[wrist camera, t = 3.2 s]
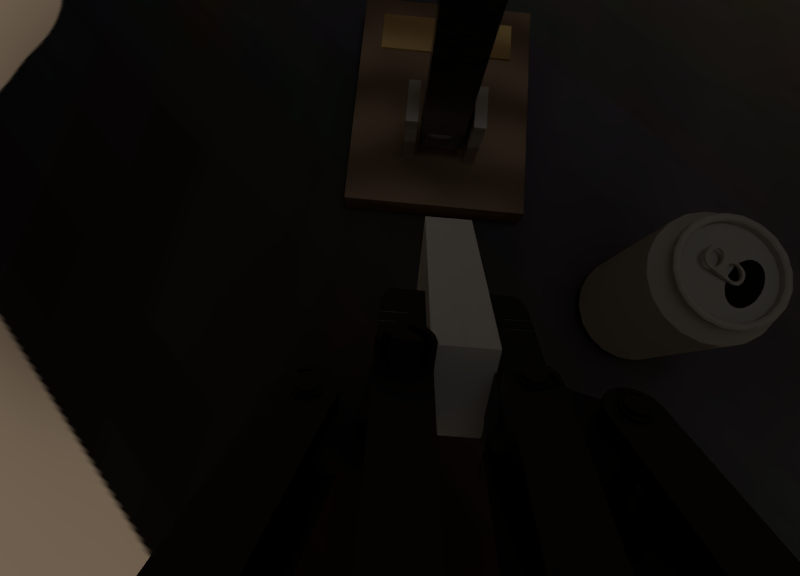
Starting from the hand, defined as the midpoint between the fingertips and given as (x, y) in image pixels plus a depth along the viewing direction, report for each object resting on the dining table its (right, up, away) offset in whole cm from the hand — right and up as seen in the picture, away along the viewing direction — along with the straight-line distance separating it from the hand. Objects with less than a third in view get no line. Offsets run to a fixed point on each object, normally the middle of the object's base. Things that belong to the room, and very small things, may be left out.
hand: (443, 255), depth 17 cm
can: (+15, -3, +20) cm, 26 cm away
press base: (+2, +13, +23) cm, 27 cm away
